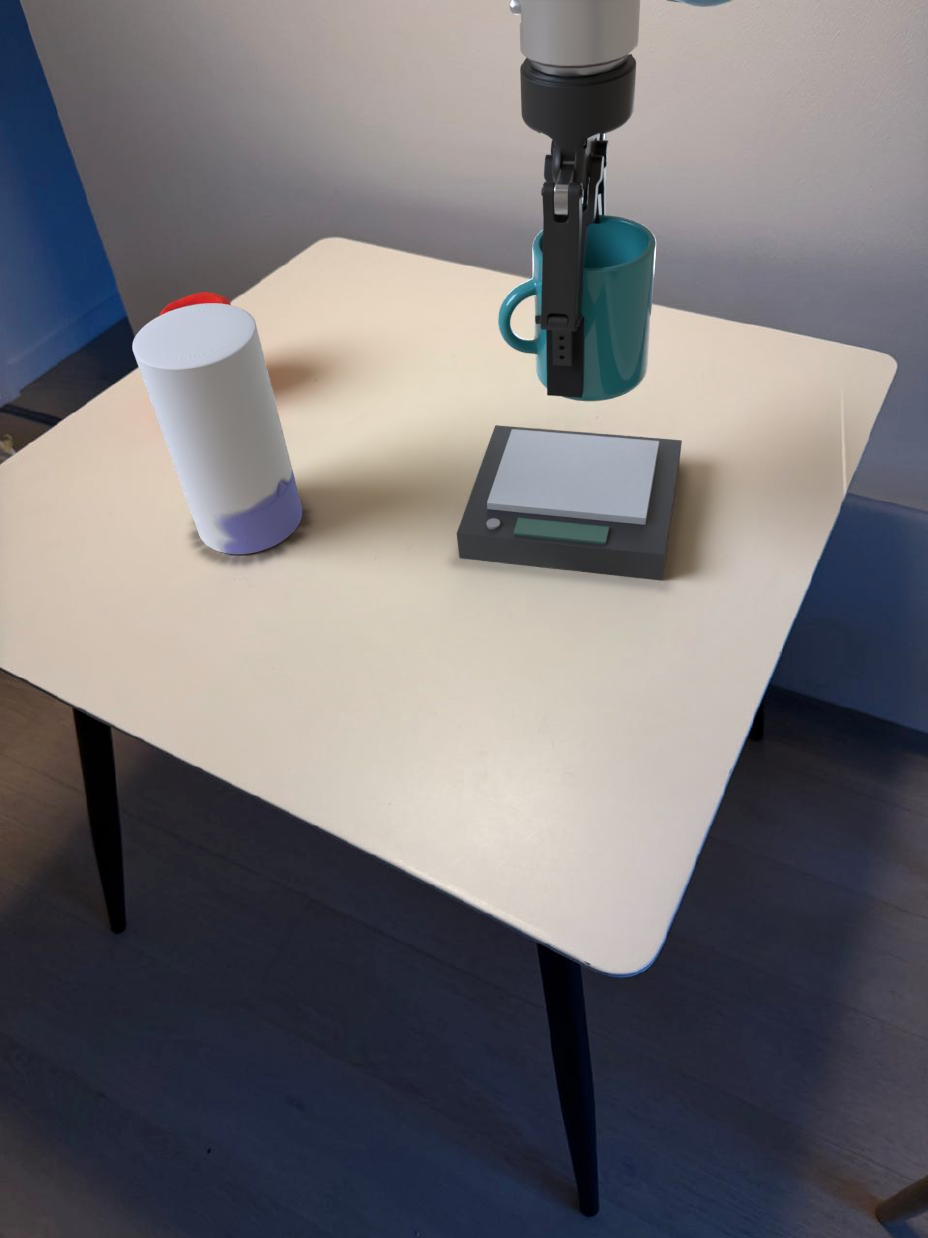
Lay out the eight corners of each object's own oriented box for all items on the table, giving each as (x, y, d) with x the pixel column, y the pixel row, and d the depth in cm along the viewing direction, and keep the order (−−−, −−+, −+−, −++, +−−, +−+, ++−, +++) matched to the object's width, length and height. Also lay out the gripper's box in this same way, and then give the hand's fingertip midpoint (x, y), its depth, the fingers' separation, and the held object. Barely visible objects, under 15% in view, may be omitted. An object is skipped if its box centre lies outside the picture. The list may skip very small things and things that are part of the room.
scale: (679, 465, 95) (682, 432, 92) (662, 580, 85) (665, 548, 82) (496, 449, 99) (494, 417, 96) (459, 558, 89) (455, 526, 86)
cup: (489, 360, 83) (481, 230, 75) (627, 336, 84) (633, 206, 76) (514, 420, 77) (508, 286, 69) (662, 393, 78) (673, 258, 70)
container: (238, 477, 99) (181, 292, 85) (322, 500, 96) (279, 312, 81) (177, 540, 93) (105, 353, 79) (264, 567, 90) (206, 376, 75)
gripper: (549, 2, 72) (552, 289, 88) (484, 120, 58) (502, 436, 74) (654, 1, 70) (637, 293, 87) (613, 122, 56) (602, 444, 72)
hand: (574, 359), depth 80 cm, fingers closed on cup, 9 cm apart
